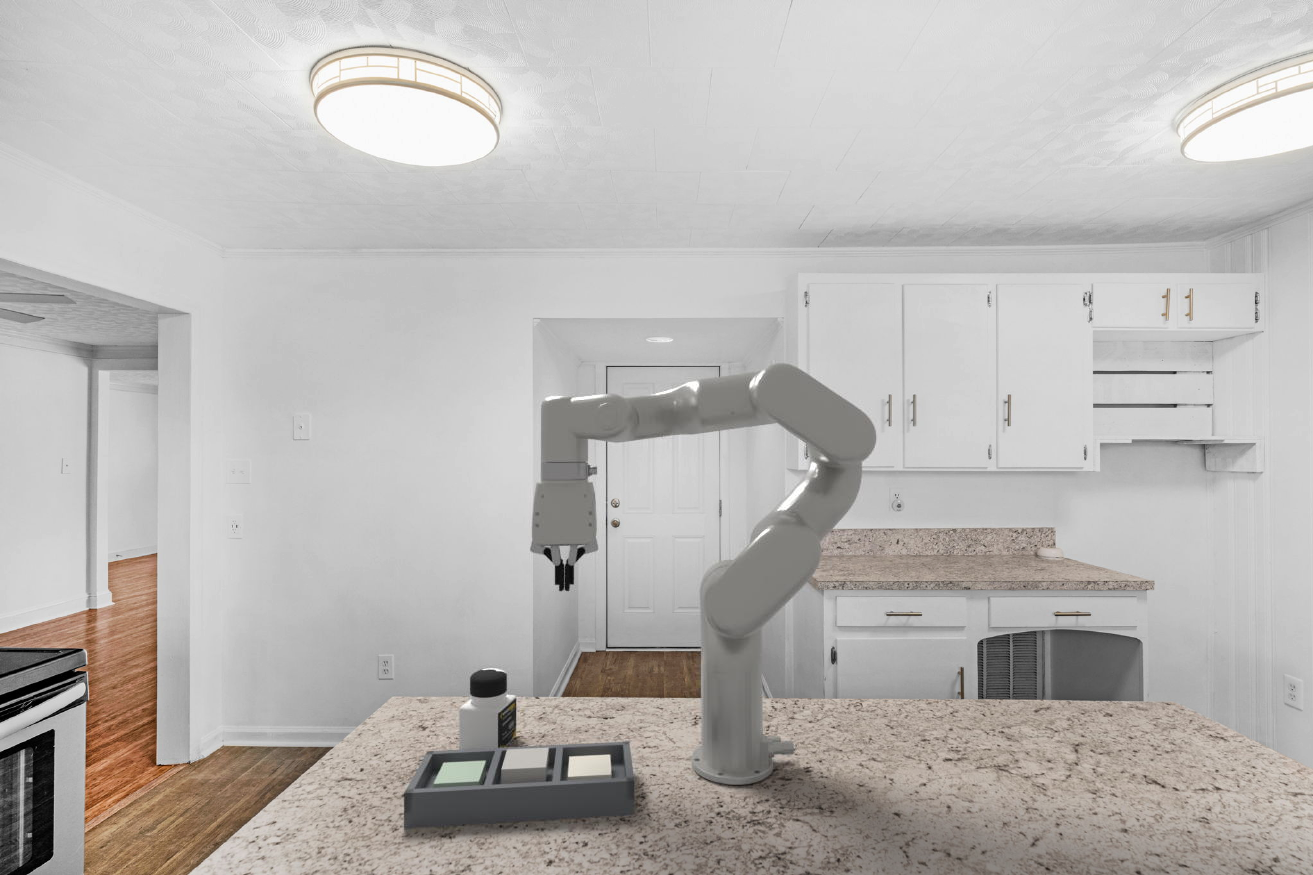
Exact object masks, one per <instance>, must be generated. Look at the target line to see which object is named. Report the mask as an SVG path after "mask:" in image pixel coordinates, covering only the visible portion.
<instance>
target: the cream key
mask: <svg viewBox="0 0 1313 875" xmlns="http://www.w3.org/2000/svg"><path fill="white" fill-rule="evenodd" d="M607 778H611V760H610V755H591V756H572V757H569V768H568V781H570V780H589V779H607Z"/></svg>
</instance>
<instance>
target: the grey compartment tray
mask: <svg viewBox="0 0 1313 875" xmlns="http://www.w3.org/2000/svg"><path fill="white" fill-rule="evenodd" d="M528 748H549V763H548V770H547V777H546V782H533V783H515V784H501V769H502V766H503V762H504V759H505V755H506V752H507V750H508V749H528ZM591 755H610V760H611V778H607V779H589V780H570V781H568V768H569V757H572V756H591ZM467 761H486V776H485V779H484V782H483V785H478V786H459V787H441V788H433V784H434V782H435V780H436V777H437V775H438V773H439V771H440V769H441V767H442V765H443V763H447V762H467ZM633 767H634V766H633V759H632V753H631V744H630V741H613V742H612V741H611V742H589V743H588V742H586V743H570V744H569V743H568V744H566V743H565V744H549V745H548V744H547V745H528V746H527V745H525V746H506V747H504V748H483V749H463V750H459V749H446V750H445V749H444V750H427V751H426V753H425V754H424V756H423V759H422V760H421V762H420V764H419V766H418V767H417V769H416V771H415V773H414V775H413V777H412V778H411V780H410V782H409V783H408V785H407V786H406V789H405V791H404V793H403V829H415V828H416V829H419V828H432V827H434V828H436V827H449V826H450V827H452V826H453V827H454V826H465V825H466V826H467V824H471V825H483V824H484V825H486V824H485V823H487V824H500V823H502V824H503V823H517V822H518V823H519V822H534V821H536V822H537V821H549V820H550V821H552V820H553V821H554V820H569V819H571V820H572V819H583V818H584V819H585V818H597V817H598V818H600V817H601V818H602V817H616V816H617V817H618V816H634V815H635V811H636V810H635V775H634V768H633ZM463 824H465V825H463Z"/></svg>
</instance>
